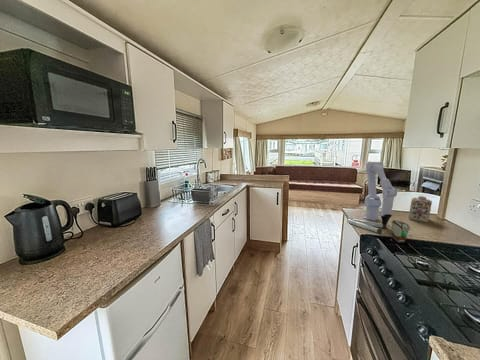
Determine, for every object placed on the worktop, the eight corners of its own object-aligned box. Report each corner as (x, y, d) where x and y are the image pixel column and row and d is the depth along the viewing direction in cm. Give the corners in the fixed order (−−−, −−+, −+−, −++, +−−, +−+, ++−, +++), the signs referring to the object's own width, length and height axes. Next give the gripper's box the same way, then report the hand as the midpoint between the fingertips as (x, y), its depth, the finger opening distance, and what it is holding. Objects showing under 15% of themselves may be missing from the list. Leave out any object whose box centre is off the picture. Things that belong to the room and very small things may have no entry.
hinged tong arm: (349, 222, 149) (349, 218, 148) (349, 221, 150) (349, 217, 150) (385, 228, 139) (386, 224, 138) (385, 227, 140) (386, 223, 140)
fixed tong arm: (348, 222, 149) (348, 218, 149) (381, 233, 131) (382, 229, 130) (347, 222, 148) (347, 219, 148) (380, 234, 130) (381, 230, 130)
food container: (412, 245, 116) (415, 228, 115) (400, 243, 117) (403, 227, 116) (400, 235, 128) (403, 220, 126) (389, 234, 129) (392, 219, 128)
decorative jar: (428, 219, 161) (432, 197, 158) (428, 223, 152) (432, 199, 149) (409, 215, 169) (412, 194, 166) (407, 218, 160) (411, 196, 157)
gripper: (389, 208, 133) (386, 228, 135) (398, 205, 141) (395, 224, 143) (377, 205, 139) (374, 224, 141) (387, 203, 147) (384, 221, 149)
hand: (384, 224), depth 143 cm, fingers closed
